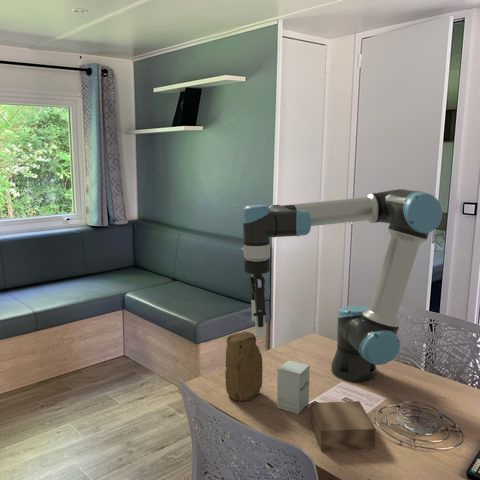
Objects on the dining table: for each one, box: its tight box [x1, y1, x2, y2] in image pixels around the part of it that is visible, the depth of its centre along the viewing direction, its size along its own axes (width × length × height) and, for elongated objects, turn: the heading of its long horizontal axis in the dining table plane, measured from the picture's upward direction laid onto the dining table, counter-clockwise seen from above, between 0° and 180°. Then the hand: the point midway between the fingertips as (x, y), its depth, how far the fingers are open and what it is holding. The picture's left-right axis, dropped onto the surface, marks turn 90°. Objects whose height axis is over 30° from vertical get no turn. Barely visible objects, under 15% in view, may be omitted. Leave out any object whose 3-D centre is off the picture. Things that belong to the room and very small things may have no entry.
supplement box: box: [276, 360, 311, 415], centre depth 145 cm, size 7×7×13 cm
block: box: [224, 331, 264, 402], centre depth 151 cm, size 11×8×20 cm
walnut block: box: [309, 400, 377, 452], centre depth 131 cm, size 14×14×6 cm
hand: (258, 328), depth 145 cm, fingers open, 13 cm apart
